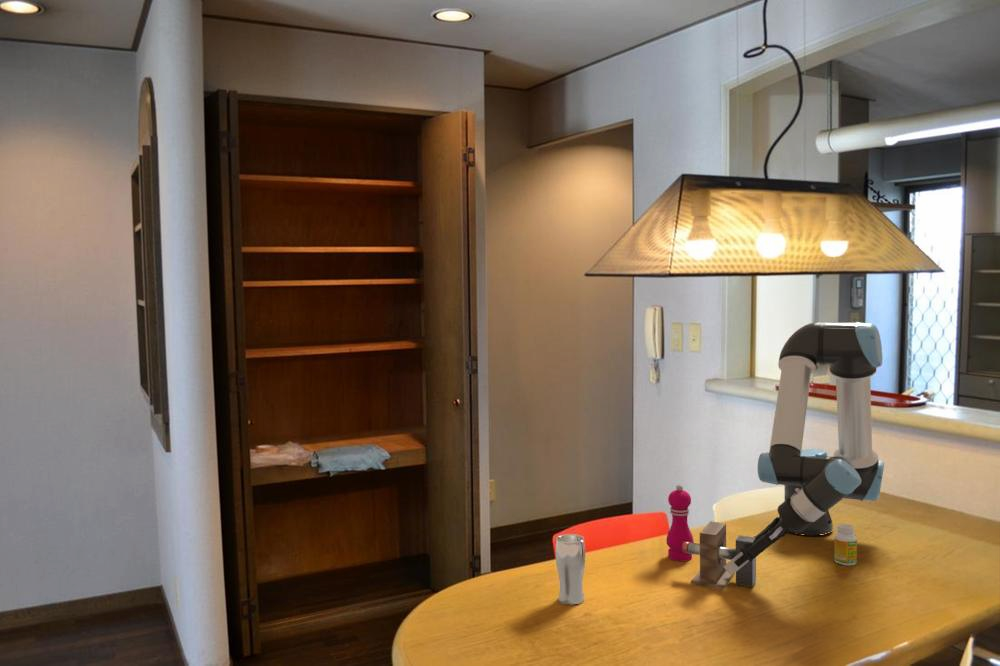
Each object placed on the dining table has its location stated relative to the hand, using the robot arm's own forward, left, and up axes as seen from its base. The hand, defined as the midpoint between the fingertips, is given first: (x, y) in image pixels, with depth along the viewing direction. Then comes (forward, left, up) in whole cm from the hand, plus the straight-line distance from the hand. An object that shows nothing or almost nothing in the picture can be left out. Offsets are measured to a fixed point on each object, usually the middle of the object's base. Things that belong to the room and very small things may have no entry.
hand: (730, 566), depth 194 cm
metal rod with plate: (+2, -2, -3) cm, 5 cm away
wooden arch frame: (+3, -3, -4) cm, 6 cm away
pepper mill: (+5, -19, -4) cm, 20 cm away
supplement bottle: (-35, -5, -4) cm, 35 cm away
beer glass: (+41, +1, -4) cm, 42 cm away
